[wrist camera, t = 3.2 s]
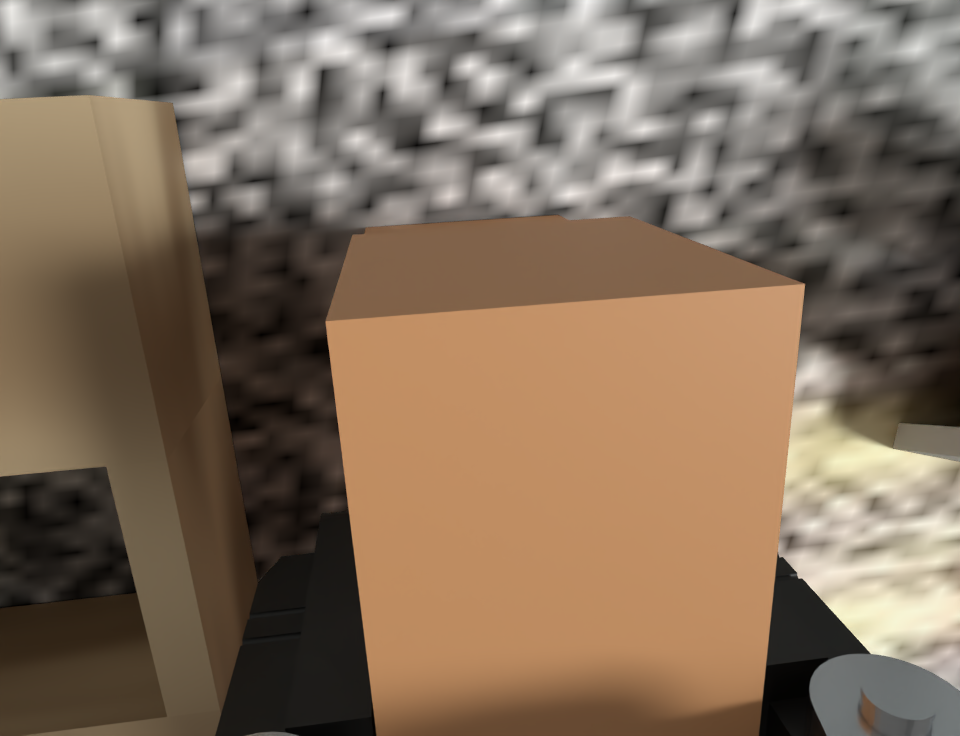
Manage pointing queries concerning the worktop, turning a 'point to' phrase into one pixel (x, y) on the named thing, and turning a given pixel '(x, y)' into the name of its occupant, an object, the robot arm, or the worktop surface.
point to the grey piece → (929, 440)
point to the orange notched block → (562, 474)
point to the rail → (117, 420)
